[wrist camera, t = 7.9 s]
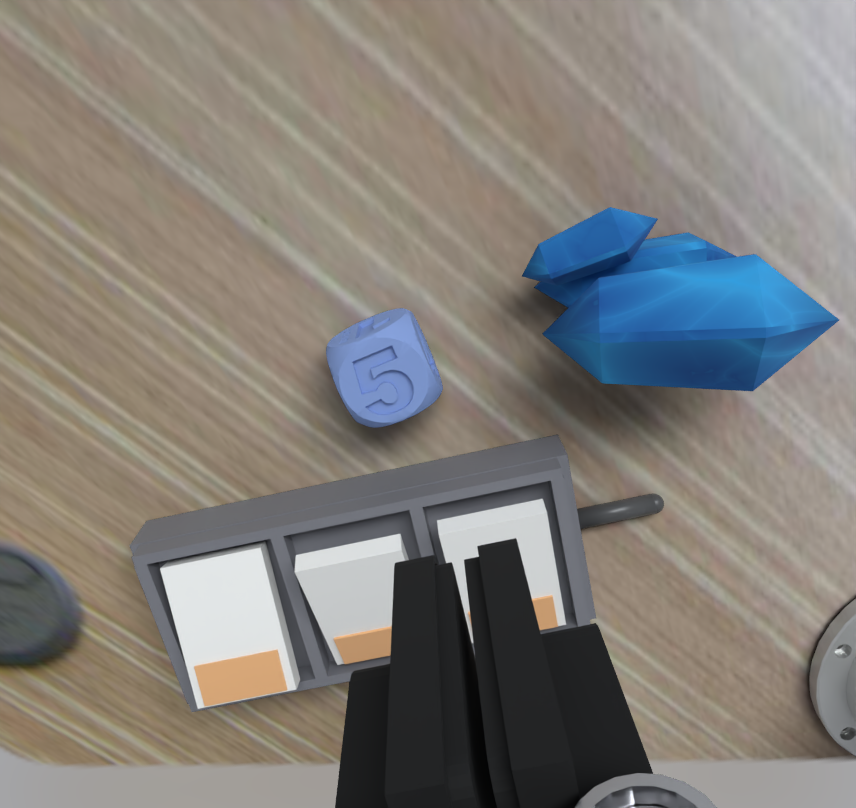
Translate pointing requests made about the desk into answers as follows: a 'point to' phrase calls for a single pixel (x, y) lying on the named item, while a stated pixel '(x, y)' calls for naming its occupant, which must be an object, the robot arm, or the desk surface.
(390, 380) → the decorative dice
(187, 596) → the rocker
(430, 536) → the strip
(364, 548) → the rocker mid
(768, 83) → the desk surface
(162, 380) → the desk surface
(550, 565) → the rocker
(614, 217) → the crystal
